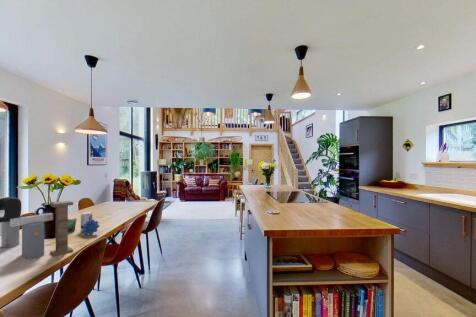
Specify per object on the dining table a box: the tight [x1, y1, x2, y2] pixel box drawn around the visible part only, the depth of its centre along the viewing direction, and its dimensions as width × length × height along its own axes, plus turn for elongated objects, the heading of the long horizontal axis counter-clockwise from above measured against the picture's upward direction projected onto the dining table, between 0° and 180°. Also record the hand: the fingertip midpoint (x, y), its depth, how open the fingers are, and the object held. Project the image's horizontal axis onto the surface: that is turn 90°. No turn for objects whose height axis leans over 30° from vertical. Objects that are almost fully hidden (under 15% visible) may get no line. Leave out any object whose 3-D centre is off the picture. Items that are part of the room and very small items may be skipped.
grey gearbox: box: [21, 221, 45, 260], centre depth 153 cm, size 13×8×20 cm, turn 54°
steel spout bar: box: [10, 212, 54, 227], centre depth 153 cm, size 4×20×4 cm, turn 144°
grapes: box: [81, 219, 100, 236], centre depth 194 cm, size 12×7×12 cm, turn 110°
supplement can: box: [80, 211, 93, 233], centre depth 203 cm, size 8×8×15 cm
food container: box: [68, 218, 78, 233], centre depth 202 cm, size 12×6×10 cm, turn 105°
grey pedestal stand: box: [49, 200, 74, 257], centre depth 157 cm, size 8×10×32 cm
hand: (1, 217), depth 141 cm, fingers open, 8 cm apart
